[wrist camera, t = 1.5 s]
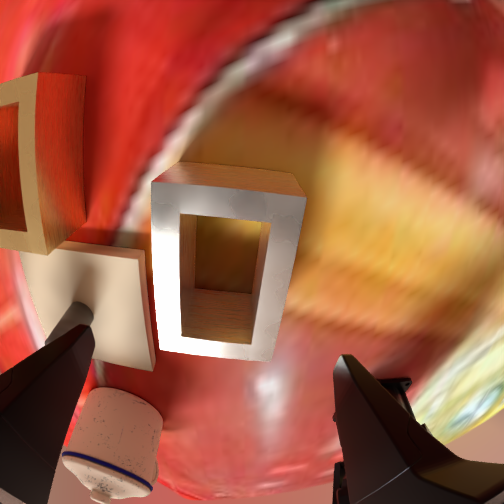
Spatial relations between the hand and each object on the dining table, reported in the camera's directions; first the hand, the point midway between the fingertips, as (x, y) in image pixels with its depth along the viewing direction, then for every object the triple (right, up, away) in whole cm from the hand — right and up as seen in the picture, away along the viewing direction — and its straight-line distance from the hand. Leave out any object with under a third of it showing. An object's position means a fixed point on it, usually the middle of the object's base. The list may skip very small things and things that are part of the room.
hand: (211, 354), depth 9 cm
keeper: (-11, 0, +10) cm, 14 cm away
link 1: (-11, +10, +5) cm, 16 cm away
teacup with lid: (-12, -14, +17) cm, 25 cm away
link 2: (0, +4, +7) cm, 8 cm away
